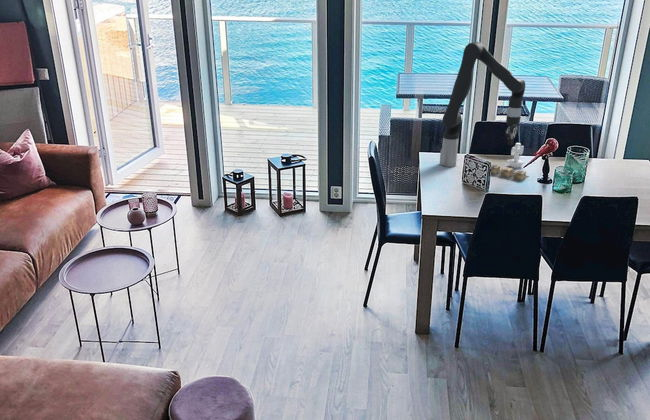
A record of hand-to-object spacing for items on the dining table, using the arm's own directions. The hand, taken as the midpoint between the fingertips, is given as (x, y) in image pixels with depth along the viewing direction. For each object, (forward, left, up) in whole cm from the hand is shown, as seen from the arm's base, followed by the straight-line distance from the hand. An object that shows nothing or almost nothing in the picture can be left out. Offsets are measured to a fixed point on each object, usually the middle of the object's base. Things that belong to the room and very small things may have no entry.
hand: (510, 144), depth 351 cm
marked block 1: (-8, 0, -19) cm, 20 cm away
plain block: (0, 0, -19) cm, 19 cm away
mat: (0, 0, -19) cm, 19 cm away
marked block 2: (+8, 0, -19) cm, 20 cm away
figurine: (-3, +19, -19) cm, 27 cm away
